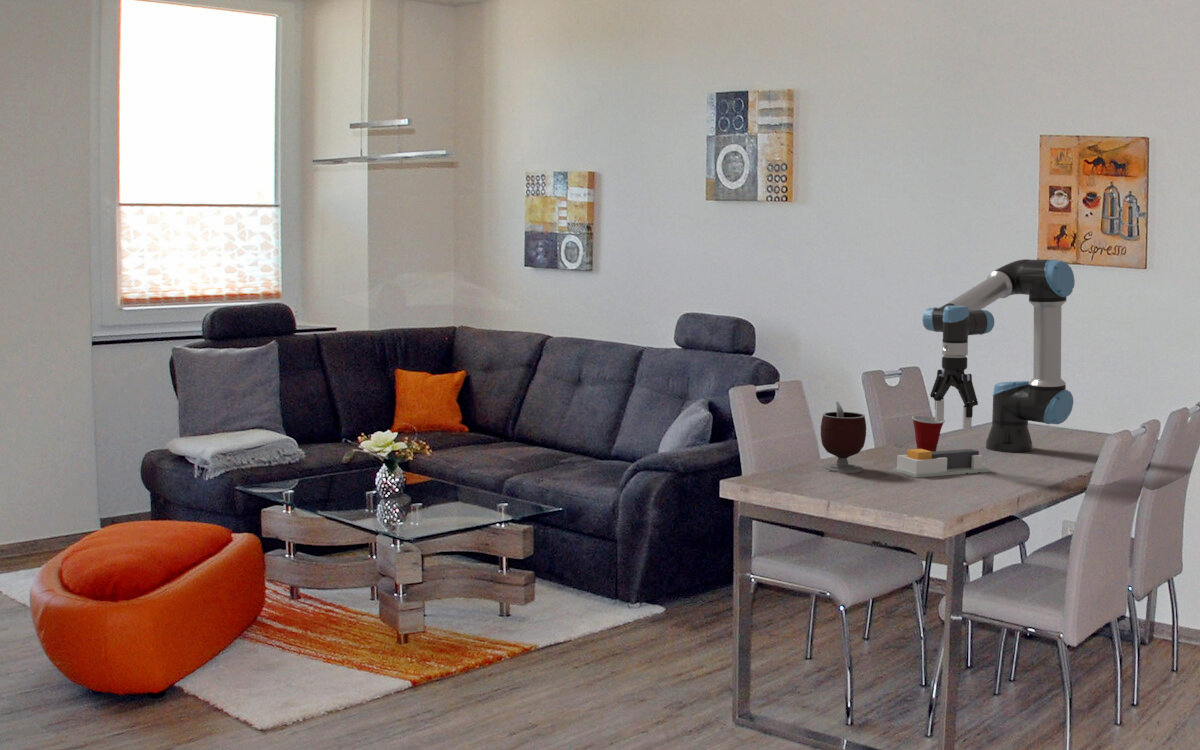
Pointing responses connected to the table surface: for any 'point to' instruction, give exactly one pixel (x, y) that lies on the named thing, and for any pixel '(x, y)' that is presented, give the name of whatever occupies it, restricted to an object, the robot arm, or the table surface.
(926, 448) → the plastic cup
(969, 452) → the bar
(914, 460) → the board
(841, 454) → the mate gourd
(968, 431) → the table surface
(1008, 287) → the robot arm
